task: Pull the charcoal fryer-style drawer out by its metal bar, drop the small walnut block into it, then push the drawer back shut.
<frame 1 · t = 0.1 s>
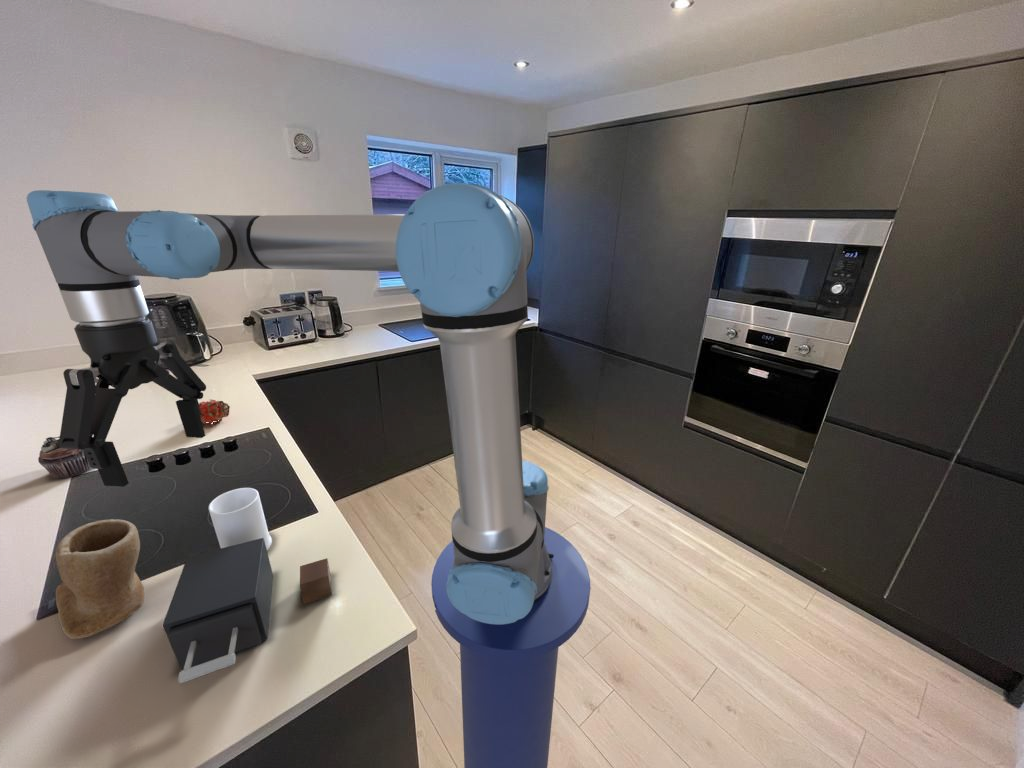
hand: (160, 458, 60), 28 cm above the worktop, tool pointing down, fingers open, 13 cm apart
cupcake: (74, 470, 104), on the worktop
block: (318, 589, 72), on the worktop
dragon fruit: (211, 423, 131), on the worktop
stone cup: (113, 602, 69), on the worktop
mug: (252, 543, 82), on the worktop
drawer: (220, 620, 61), point 5 cm above the worktop, slide at 0.0 cm
cabinet: (232, 617, 66), on the worktop
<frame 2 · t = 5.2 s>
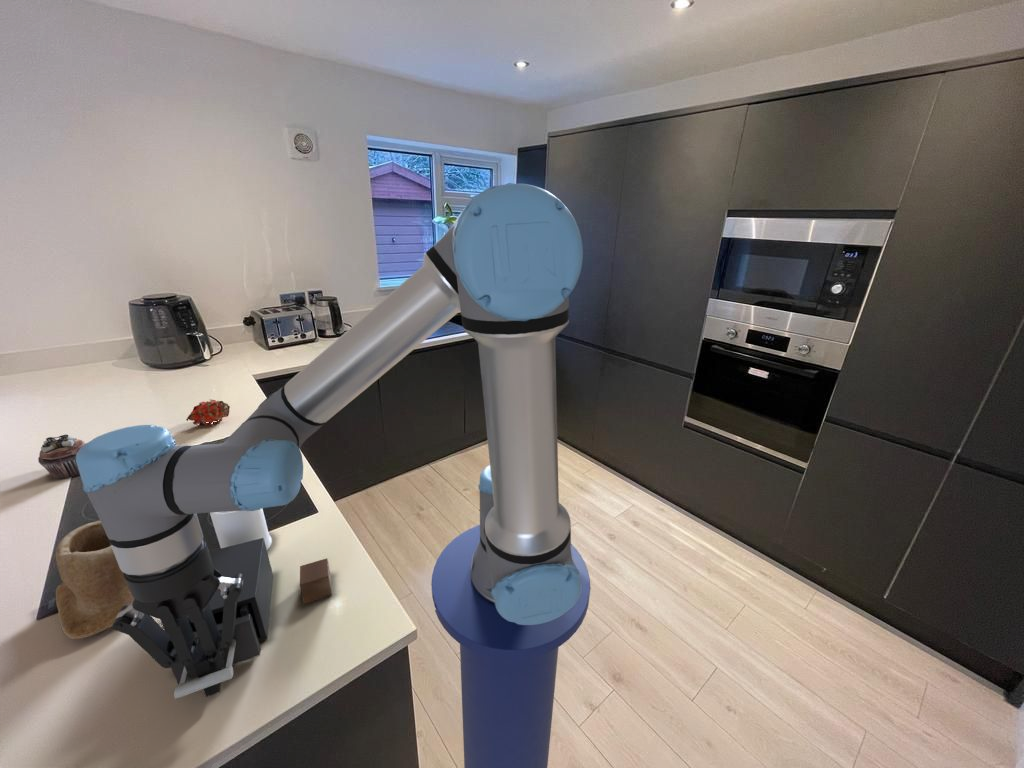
hand: (214, 684, 55), 2 cm above the worktop, tool pointing down, fingers closed
drawer: (218, 631, 59), point 5 cm above the worktop, slide at 2.0 cm, touching gripper
everything else where it was.
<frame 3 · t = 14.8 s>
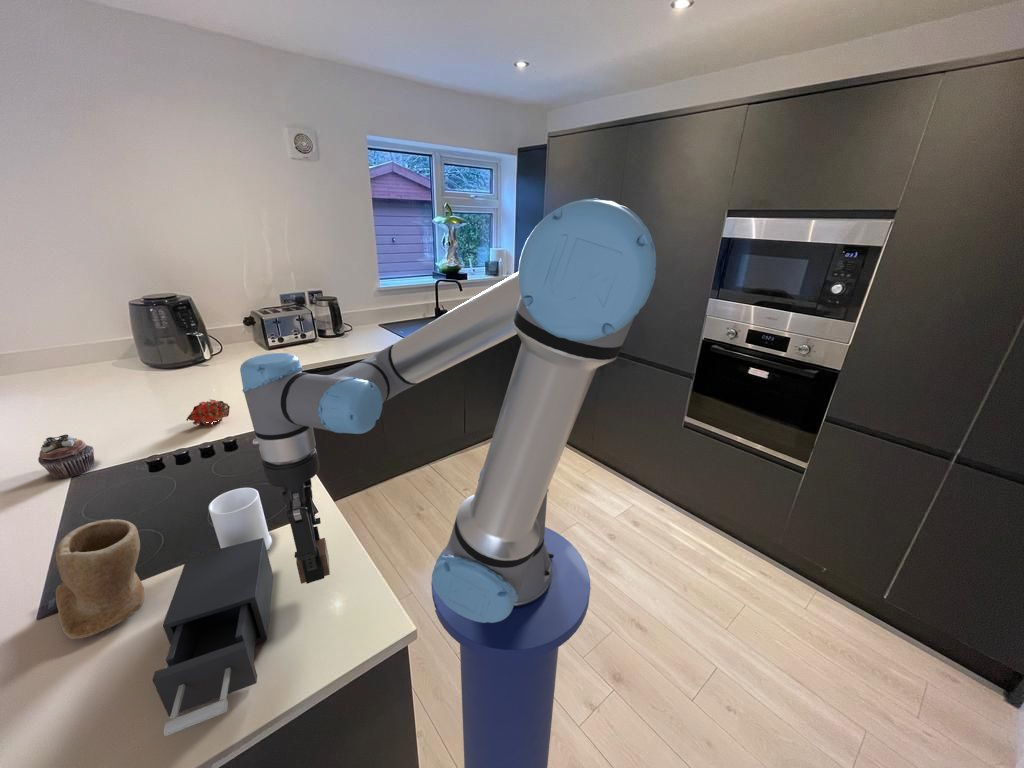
hand: (315, 568, 70), 5 cm above the worktop, tool pointing down, fingers closed on block, 4 cm apart
block: (315, 569, 70), point 5 cm above the worktop, touching gripper
drawer: (212, 658, 56), point 5 cm above the worktop, slide at 6.4 cm
everything else where it was.
when the fingers open (6 cm above the worktop, at t = 18.9 s): block stays where it is, point 5 cm above the worktop.
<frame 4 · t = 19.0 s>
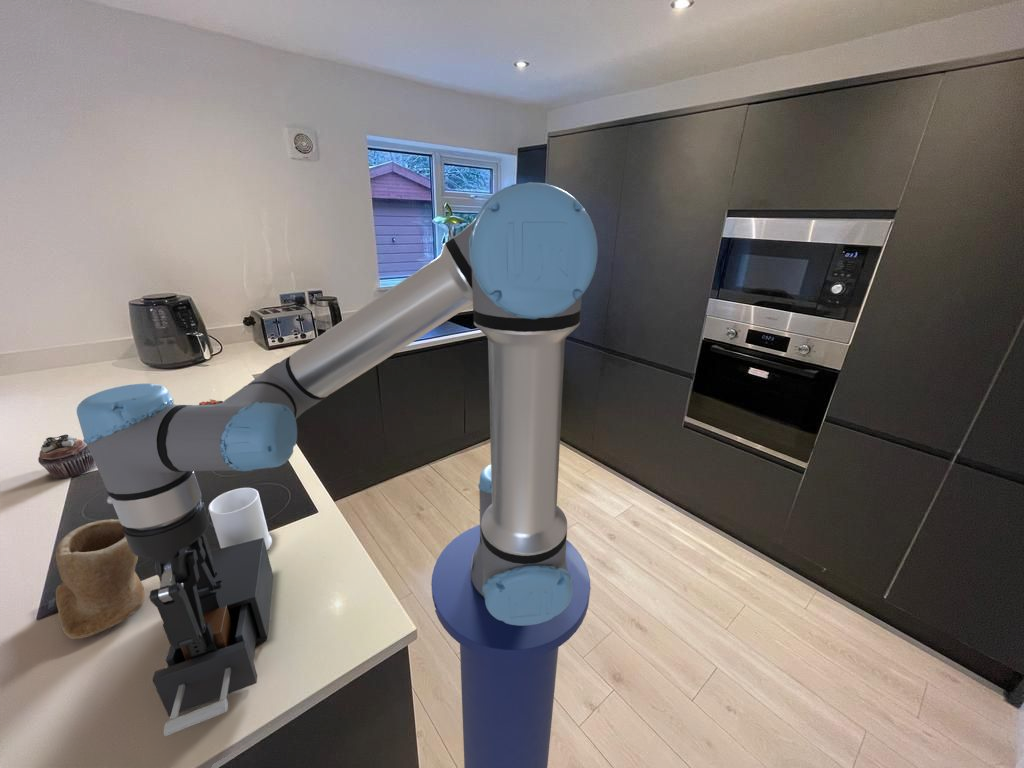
hand: (212, 645, 56), 6 cm above the worktop, tool pointing down, fingers open, 5 cm apart
block: (212, 647, 56), point 5 cm above the worktop
everything else where it was.
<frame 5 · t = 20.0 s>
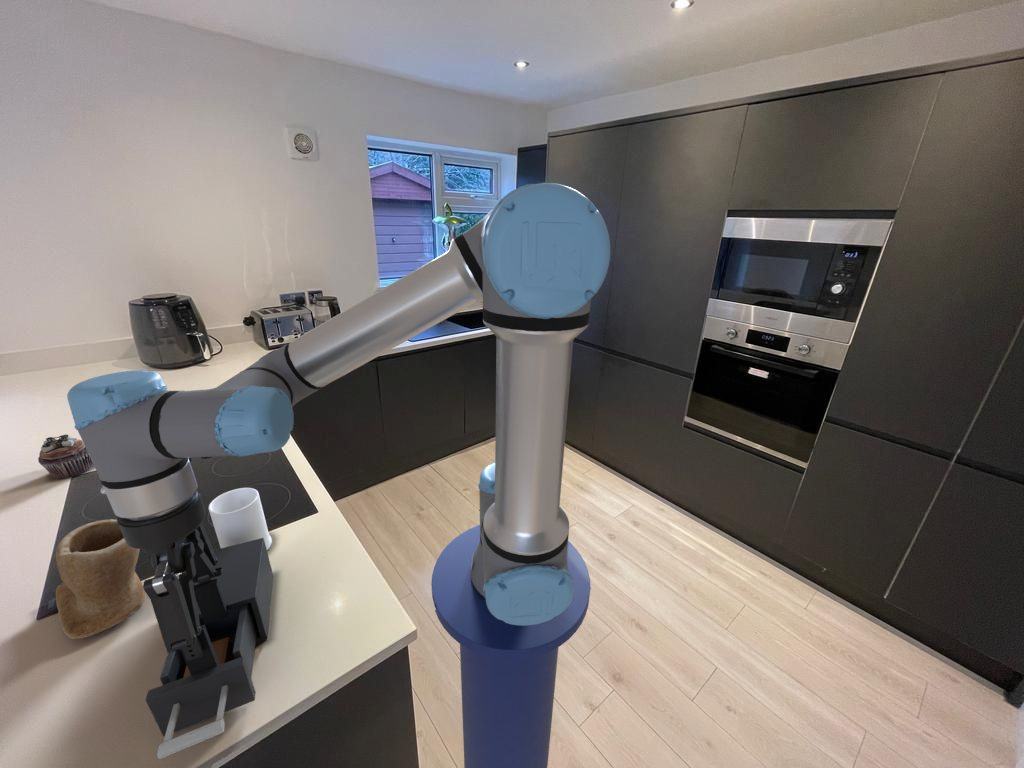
hand: (211, 641, 54), 8 cm above the worktop, tool pointing down, fingers open, 7 cm apart
block: (215, 679, 55), point 2 cm above the worktop, touching drawer
drawer: (209, 675, 54), point 5 cm above the worktop, slide at 8.8 cm, touching block, gripper
everything else where it was.
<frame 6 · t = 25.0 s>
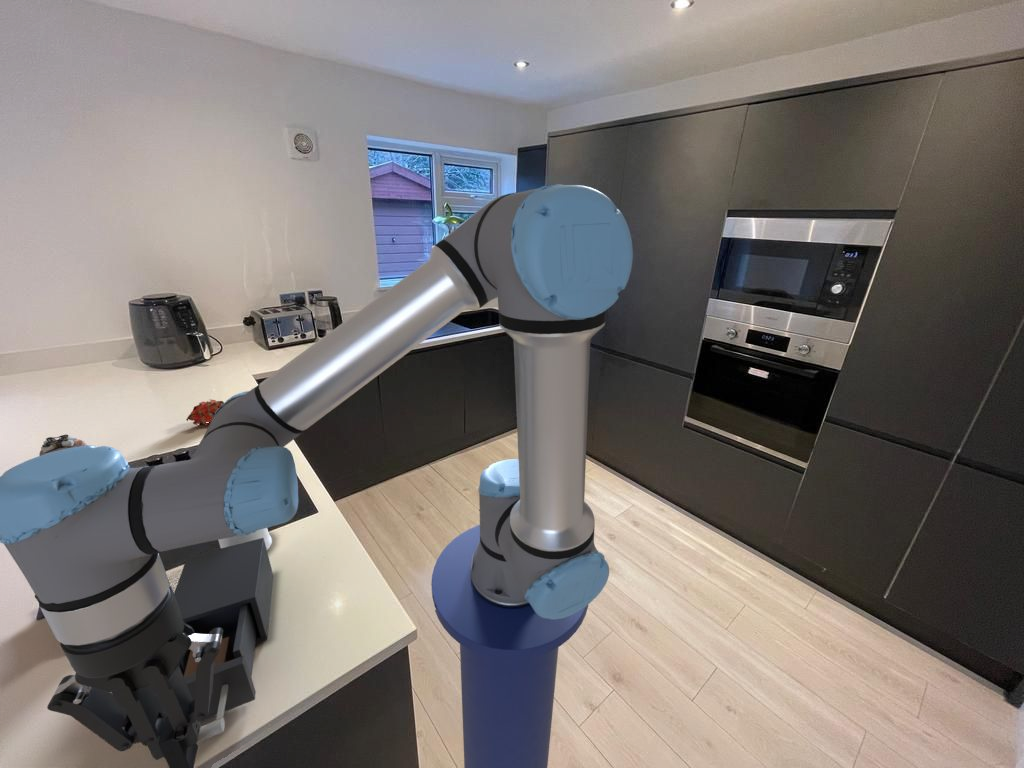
hand: (187, 762, 45), 5 cm above the worktop, tool pointing down, fingers closed
drawer: (209, 674, 54), point 5 cm above the worktop, slide at 8.7 cm, touching block
everything else where it was.
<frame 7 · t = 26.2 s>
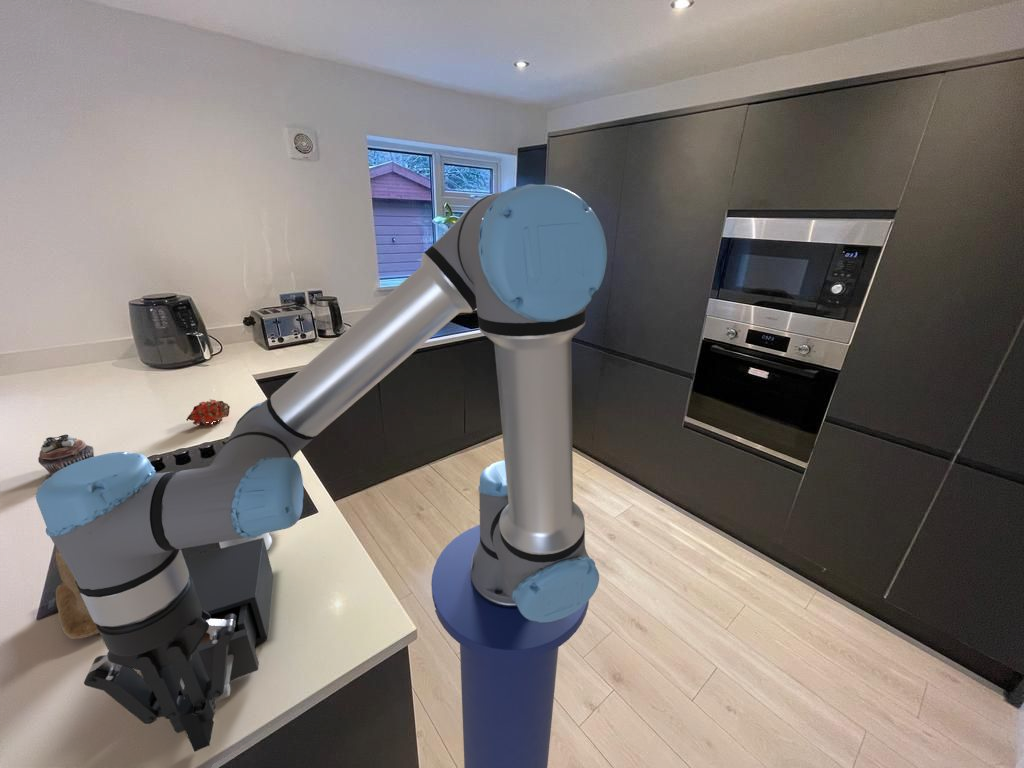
hand: (204, 736, 49), 2 cm above the worktop, tool pointing down, fingers closed
block: (220, 651, 59), point 2 cm above the worktop, touching drawer
drawer: (215, 646, 57), point 5 cm above the worktop, slide at 4.4 cm, touching block, gripper
everything else where it was.
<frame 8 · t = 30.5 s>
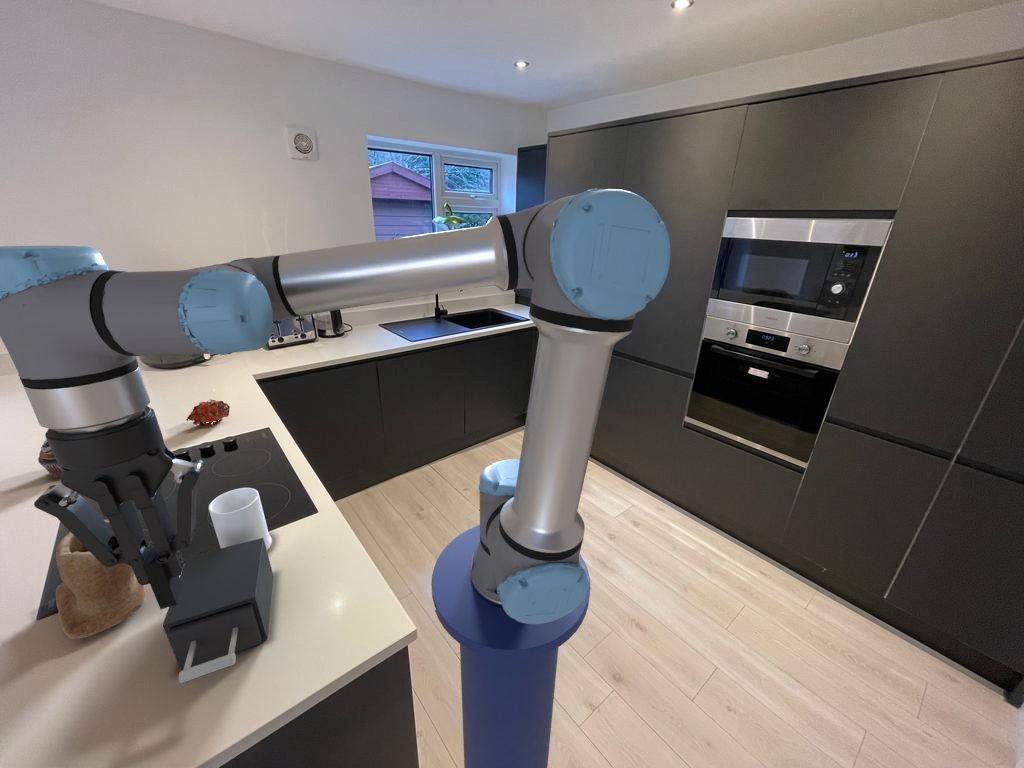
hand: (171, 597, 46), 20 cm above the worktop, tool pointing down, fingers closed
block: (225, 626, 63), point 2 cm above the worktop, touching drawer
drawer: (220, 620, 61), point 5 cm above the worktop, slide at 0.0 cm, touching block, cabinet
everything else where it was.
at the end: drawer pulled out 8.9 cm at the most during the clip, back to where it started at the end; block inside the target area in the cabinet (3.4 cm from its centre), point 2.0 cm above the cabinet's base; drawer slide at 0.0 cm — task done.
